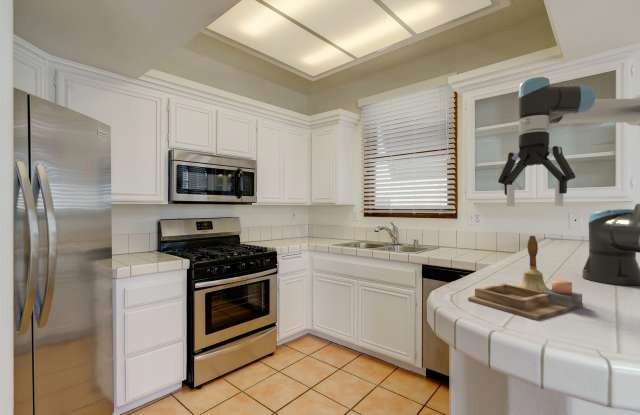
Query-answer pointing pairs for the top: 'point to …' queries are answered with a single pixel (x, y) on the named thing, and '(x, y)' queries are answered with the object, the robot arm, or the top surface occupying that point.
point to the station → (526, 300)
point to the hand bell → (533, 270)
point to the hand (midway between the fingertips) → (533, 206)
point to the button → (562, 287)
